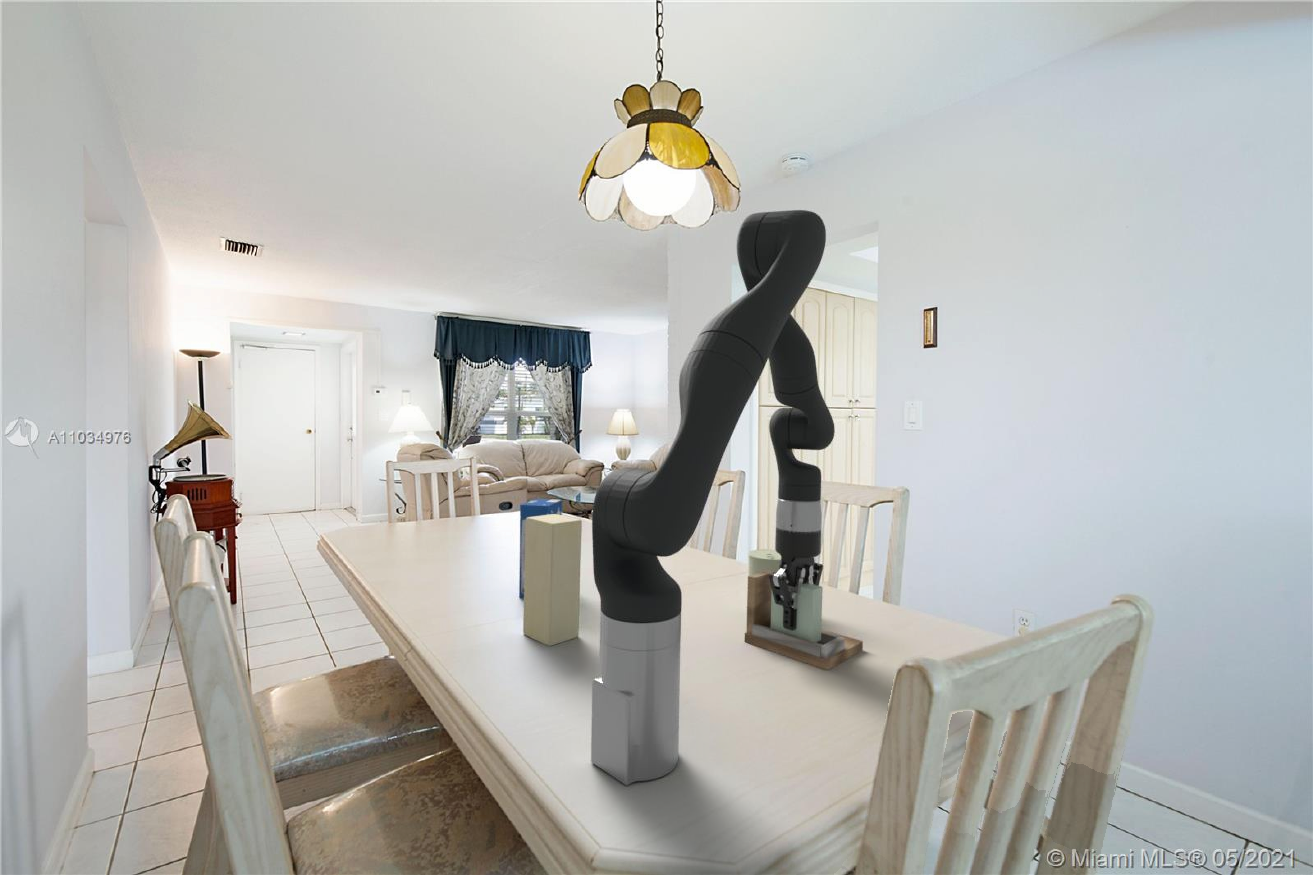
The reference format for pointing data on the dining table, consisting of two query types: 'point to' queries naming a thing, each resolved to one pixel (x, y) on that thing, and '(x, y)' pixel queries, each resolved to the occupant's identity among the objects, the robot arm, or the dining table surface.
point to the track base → (760, 634)
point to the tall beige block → (552, 578)
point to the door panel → (802, 613)
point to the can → (763, 561)
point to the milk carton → (526, 510)
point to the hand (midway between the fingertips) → (795, 626)
